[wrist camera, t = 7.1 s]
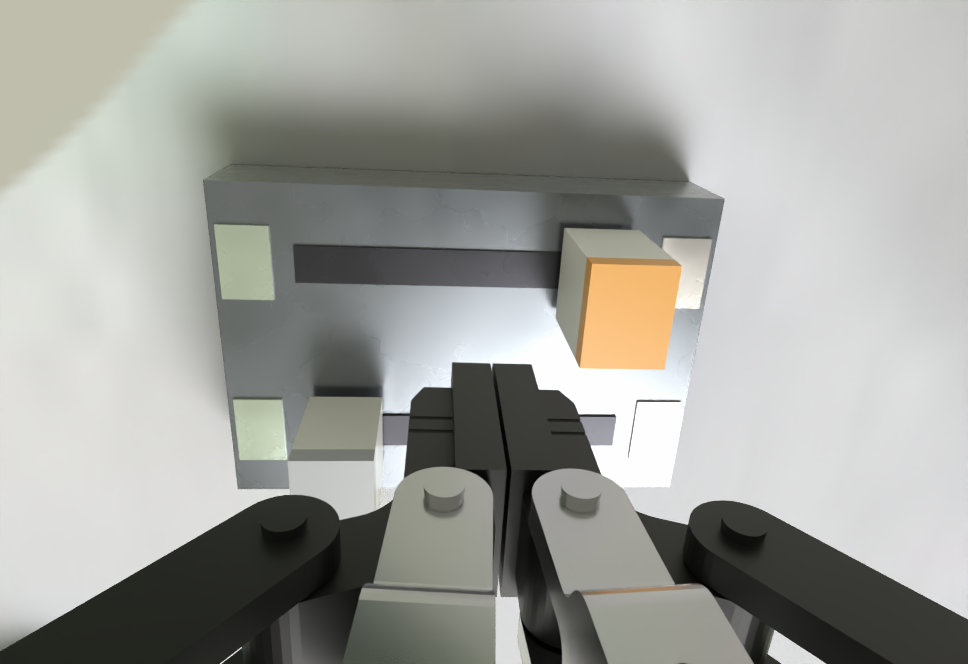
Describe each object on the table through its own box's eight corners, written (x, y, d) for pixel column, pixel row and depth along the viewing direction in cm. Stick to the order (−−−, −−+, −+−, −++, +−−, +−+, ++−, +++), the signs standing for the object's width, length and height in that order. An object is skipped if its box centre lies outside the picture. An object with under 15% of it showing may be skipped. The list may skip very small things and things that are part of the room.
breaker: (382, 397, 22) (373, 461, 19) (382, 471, 23) (375, 544, 20) (310, 396, 22) (287, 461, 19) (314, 472, 23) (294, 546, 20)
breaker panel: (690, 181, 24) (725, 199, 21) (645, 444, 28) (670, 488, 25) (231, 164, 22) (202, 180, 19) (257, 443, 26) (237, 490, 24)
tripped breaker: (639, 230, 21) (682, 266, 17) (626, 319, 22) (664, 369, 18) (564, 227, 20) (591, 264, 17) (555, 317, 22) (579, 368, 18)
